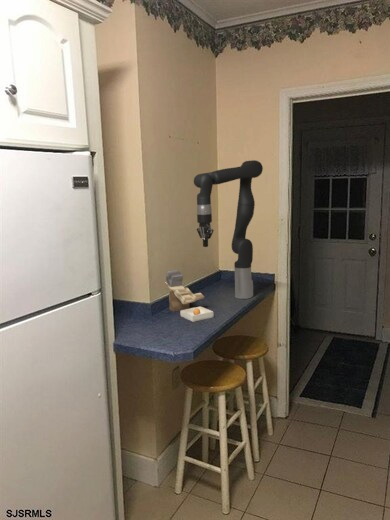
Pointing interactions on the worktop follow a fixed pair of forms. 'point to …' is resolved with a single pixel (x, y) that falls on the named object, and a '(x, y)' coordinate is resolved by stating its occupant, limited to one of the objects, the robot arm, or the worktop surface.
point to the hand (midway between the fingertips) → (205, 246)
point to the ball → (196, 311)
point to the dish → (190, 316)
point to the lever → (180, 288)
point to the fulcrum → (176, 302)
